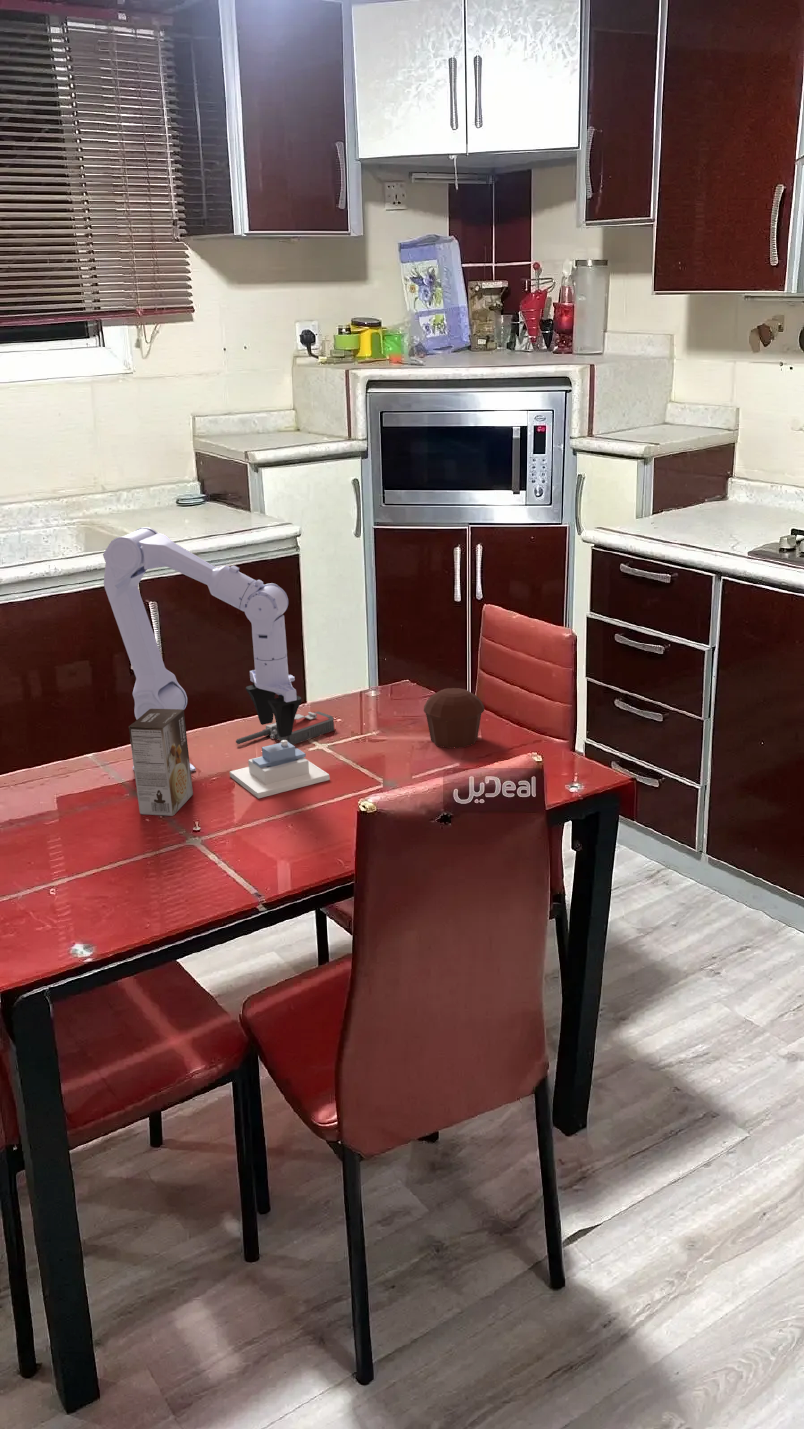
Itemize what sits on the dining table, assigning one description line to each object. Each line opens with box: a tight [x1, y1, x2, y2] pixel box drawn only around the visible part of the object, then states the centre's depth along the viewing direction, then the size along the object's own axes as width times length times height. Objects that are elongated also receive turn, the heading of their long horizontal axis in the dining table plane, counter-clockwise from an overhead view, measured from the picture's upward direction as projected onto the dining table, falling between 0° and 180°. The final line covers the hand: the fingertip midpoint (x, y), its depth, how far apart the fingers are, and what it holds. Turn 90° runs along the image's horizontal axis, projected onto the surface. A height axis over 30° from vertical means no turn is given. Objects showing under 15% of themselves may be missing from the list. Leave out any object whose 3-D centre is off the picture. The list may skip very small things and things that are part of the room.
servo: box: [251, 740, 307, 768], centre depth 207 cm, size 9×3×6 cm, turn 122°
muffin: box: [423, 687, 485, 749], centre depth 222 cm, size 12×11×10 cm
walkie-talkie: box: [235, 710, 335, 746], centre depth 228 cm, size 9×4×20 cm
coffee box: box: [128, 709, 194, 817], centre depth 197 cm, size 9×6×16 cm
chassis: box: [229, 755, 331, 799], centre depth 208 cm, size 14×12×4 cm
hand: (275, 729), depth 205 cm, fingers open, 7 cm apart
